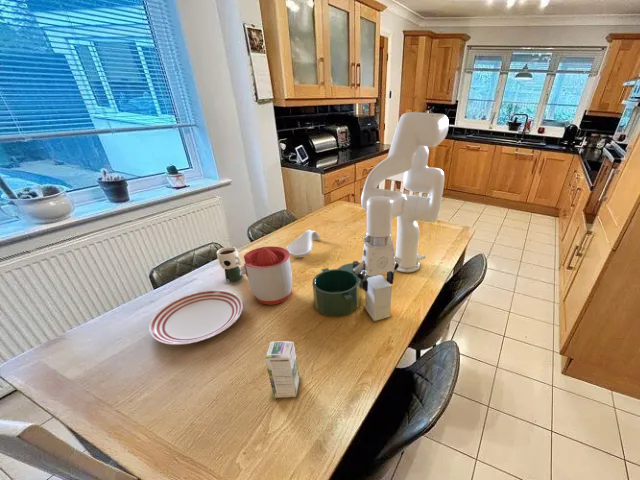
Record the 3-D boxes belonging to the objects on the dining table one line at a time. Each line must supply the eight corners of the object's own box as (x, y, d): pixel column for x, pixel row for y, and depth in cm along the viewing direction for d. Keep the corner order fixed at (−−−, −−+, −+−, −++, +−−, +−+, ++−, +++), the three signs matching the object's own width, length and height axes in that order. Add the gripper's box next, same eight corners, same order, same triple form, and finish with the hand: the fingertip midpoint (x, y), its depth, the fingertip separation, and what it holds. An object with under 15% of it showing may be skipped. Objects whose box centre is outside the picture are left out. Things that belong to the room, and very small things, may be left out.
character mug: (217, 281, 122) (208, 252, 115) (230, 272, 128) (222, 244, 121) (239, 286, 119) (231, 257, 112) (251, 278, 125) (244, 249, 118)
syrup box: (278, 380, 83) (268, 341, 75) (300, 379, 83) (293, 340, 75) (273, 398, 78) (263, 358, 70) (297, 397, 78) (289, 357, 70)
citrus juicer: (246, 289, 118) (234, 242, 107) (292, 281, 123) (285, 236, 112) (247, 313, 106) (233, 263, 95) (298, 303, 112) (291, 255, 100)
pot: (345, 282, 124) (344, 262, 119) (370, 311, 109) (370, 289, 104) (306, 293, 117) (303, 272, 112) (328, 326, 102) (326, 303, 96)
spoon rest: (306, 262, 137) (304, 248, 133) (282, 259, 139) (280, 244, 135) (326, 240, 157) (325, 227, 153) (304, 238, 158) (303, 225, 154)
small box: (390, 316, 107) (392, 285, 100) (373, 321, 104) (374, 290, 97) (380, 304, 113) (381, 274, 106) (364, 308, 110) (364, 277, 103)
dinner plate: (198, 361, 87) (195, 352, 86) (130, 336, 95) (126, 328, 93) (262, 307, 109) (260, 299, 107) (202, 290, 116) (200, 283, 115)
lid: (364, 262, 139) (364, 249, 136) (384, 279, 127) (384, 266, 124) (329, 270, 132) (328, 258, 128) (346, 290, 120) (345, 277, 116)
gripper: (359, 248, 86) (359, 298, 96) (409, 237, 94) (404, 284, 104) (347, 238, 92) (349, 286, 101) (395, 229, 100) (393, 274, 109)
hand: (377, 285), depth 102 cm, fingers open, 9 cm apart
